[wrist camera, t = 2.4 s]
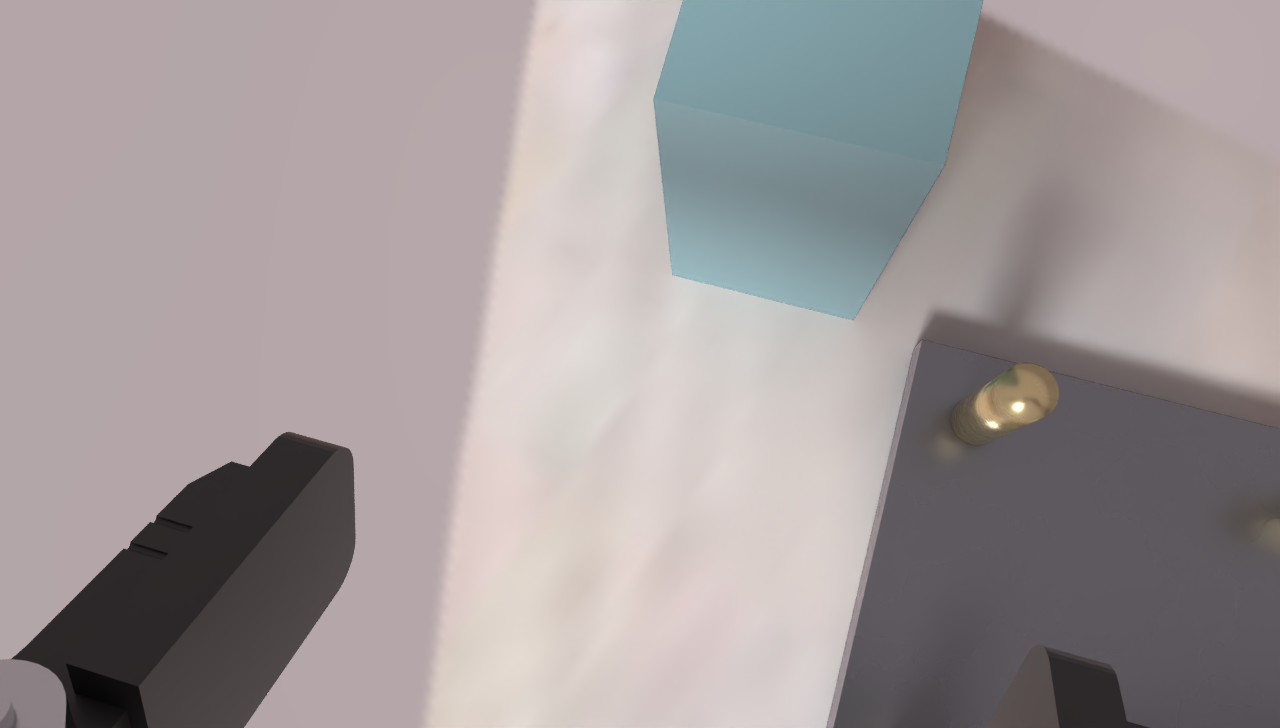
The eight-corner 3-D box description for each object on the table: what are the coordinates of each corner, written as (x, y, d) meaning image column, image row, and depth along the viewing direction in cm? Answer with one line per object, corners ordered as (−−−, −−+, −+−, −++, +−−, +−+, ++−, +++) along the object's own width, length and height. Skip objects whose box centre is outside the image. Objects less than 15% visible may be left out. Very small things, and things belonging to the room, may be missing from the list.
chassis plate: (1394, 469, 24) (1570, 442, 19) (1328, 983, 22) (1510, 1102, 17) (913, 348, 25) (964, 294, 20) (805, 819, 23) (832, 885, 18)
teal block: (894, 150, 27) (1005, -94, 17) (853, 320, 26) (944, 164, 16) (718, 111, 27) (727, -148, 17) (672, 274, 26) (653, 98, 16)
